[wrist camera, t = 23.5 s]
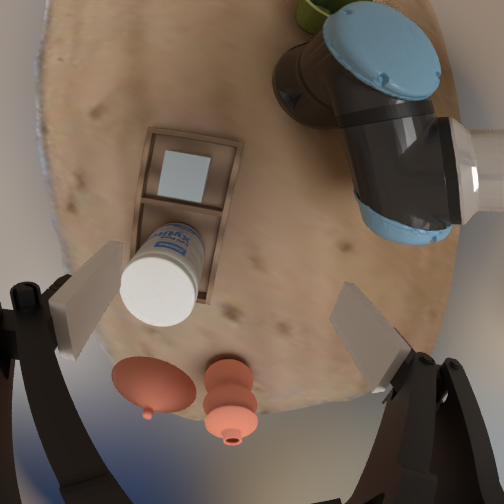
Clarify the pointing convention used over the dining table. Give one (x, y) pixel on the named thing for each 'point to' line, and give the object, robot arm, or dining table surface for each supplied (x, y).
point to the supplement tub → (164, 276)
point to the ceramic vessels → (192, 393)
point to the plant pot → (318, 12)
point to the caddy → (183, 211)
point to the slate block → (184, 176)
